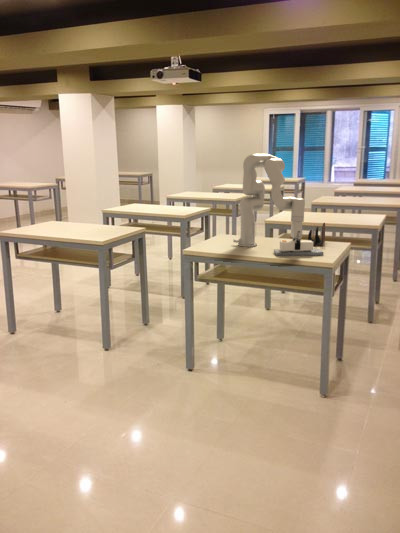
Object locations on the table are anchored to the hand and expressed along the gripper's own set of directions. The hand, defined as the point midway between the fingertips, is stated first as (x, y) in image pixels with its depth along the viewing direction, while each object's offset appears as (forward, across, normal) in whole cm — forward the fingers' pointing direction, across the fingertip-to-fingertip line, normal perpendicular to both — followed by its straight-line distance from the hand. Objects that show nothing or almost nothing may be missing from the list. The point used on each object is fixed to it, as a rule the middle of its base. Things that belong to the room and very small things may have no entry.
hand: (296, 248), depth 296 cm
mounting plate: (+4, 0, +1) cm, 4 cm away
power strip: (+1, 0, 0) cm, 1 cm away
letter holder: (+4, -33, +22) cm, 40 cm away
